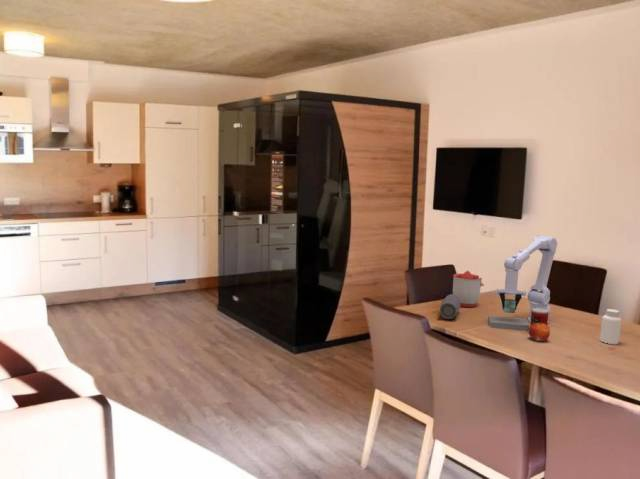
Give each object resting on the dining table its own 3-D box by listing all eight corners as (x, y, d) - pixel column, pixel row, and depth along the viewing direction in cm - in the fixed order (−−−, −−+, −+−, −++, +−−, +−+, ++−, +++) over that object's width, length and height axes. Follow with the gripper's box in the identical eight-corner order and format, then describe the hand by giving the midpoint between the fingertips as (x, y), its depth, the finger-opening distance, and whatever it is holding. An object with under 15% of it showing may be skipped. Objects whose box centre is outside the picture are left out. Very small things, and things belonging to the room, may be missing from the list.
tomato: (551, 343, 252) (552, 326, 251) (529, 341, 254) (531, 324, 253) (547, 337, 261) (548, 321, 260) (526, 336, 263) (527, 319, 262)
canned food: (546, 331, 273) (548, 309, 271) (547, 335, 265) (549, 312, 264) (529, 329, 275) (531, 307, 274) (529, 333, 268) (531, 310, 266)
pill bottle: (618, 346, 253) (621, 313, 251) (598, 342, 257) (602, 310, 255) (619, 341, 260) (623, 310, 258) (600, 338, 264) (603, 307, 262)
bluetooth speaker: (457, 322, 282) (458, 303, 281) (438, 320, 285) (439, 300, 284) (460, 312, 304) (462, 294, 303) (443, 310, 307) (444, 292, 306)
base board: (524, 323, 285) (525, 318, 285) (528, 330, 272) (529, 325, 272) (487, 320, 288) (488, 315, 288) (490, 327, 276) (490, 322, 275)
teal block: (513, 311, 282) (514, 299, 281) (514, 313, 277) (515, 301, 276) (503, 310, 283) (503, 298, 282) (504, 312, 278) (505, 300, 277)
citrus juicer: (485, 309, 312) (488, 273, 310) (454, 308, 312) (457, 272, 310) (478, 302, 328) (481, 268, 325) (448, 301, 328) (450, 267, 325)
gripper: (496, 282, 275) (494, 309, 277) (528, 284, 272) (525, 312, 274) (495, 279, 282) (493, 306, 284) (525, 281, 279) (523, 308, 281)
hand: (509, 308), depth 279 cm, fingers closed on teal block, 5 cm apart
